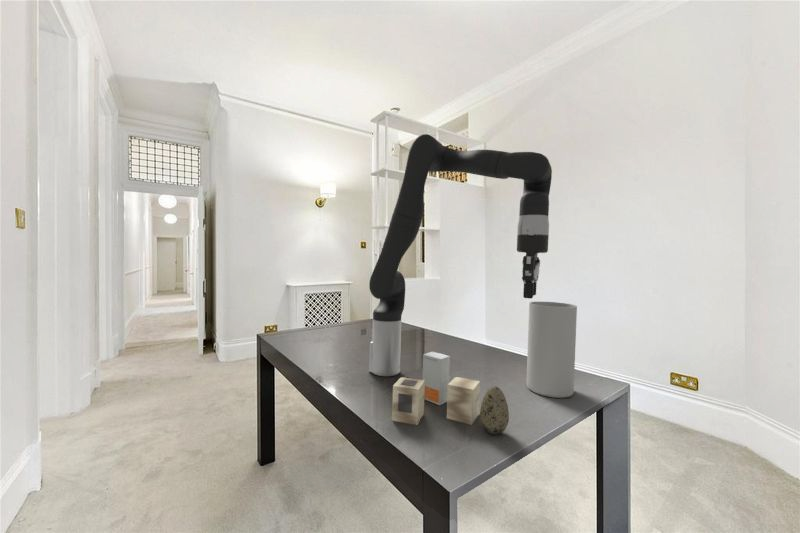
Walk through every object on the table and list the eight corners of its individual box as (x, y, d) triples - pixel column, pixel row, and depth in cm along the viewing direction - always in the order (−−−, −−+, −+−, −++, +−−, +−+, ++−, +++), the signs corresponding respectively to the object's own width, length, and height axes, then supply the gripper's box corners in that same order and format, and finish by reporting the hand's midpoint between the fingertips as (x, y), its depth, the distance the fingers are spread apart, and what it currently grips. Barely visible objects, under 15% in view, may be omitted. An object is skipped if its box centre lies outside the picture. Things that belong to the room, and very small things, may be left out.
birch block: (446, 418, 77) (447, 384, 77) (454, 408, 83) (455, 376, 82) (472, 425, 75) (473, 389, 74) (478, 414, 80) (479, 381, 80)
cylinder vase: (584, 396, 92) (587, 307, 92) (546, 401, 89) (550, 307, 88) (551, 380, 104) (554, 301, 104) (517, 383, 101) (520, 301, 100)
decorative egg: (503, 426, 74) (505, 381, 74) (511, 440, 68) (513, 392, 68) (476, 425, 74) (478, 380, 74) (482, 439, 68) (484, 391, 68)
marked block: (391, 420, 75) (392, 385, 75) (399, 409, 81) (400, 376, 81) (417, 425, 74) (418, 389, 73) (423, 413, 79) (424, 380, 79)
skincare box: (421, 398, 88) (422, 353, 87) (431, 394, 91) (432, 350, 91) (439, 406, 84) (441, 359, 83) (449, 401, 87) (450, 355, 86)
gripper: (521, 236, 94) (518, 293, 94) (513, 231, 81) (510, 297, 81) (550, 236, 90) (547, 295, 91) (547, 231, 78) (543, 300, 78)
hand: (529, 296), depth 86 cm, fingers open, 8 cm apart
